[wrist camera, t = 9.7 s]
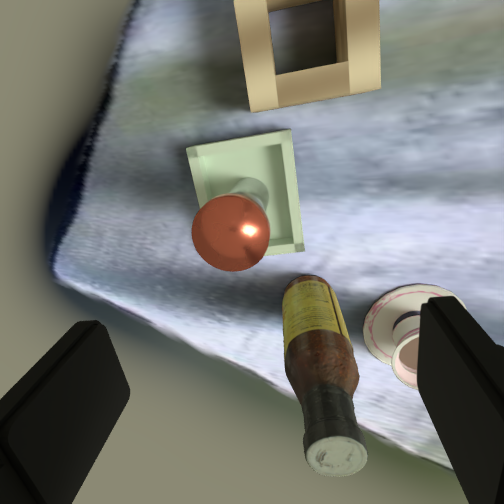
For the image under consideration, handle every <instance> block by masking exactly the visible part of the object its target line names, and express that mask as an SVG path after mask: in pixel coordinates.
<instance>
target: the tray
mask: <svg viewBox="0 0 504 504" xmlns="http://www.w3.org/2000/svg"><path fill="white" fill-rule="evenodd" d="M186 151H187V155H188V160H189V164H190V168H191V172H192V177H193V181H194V185H195V190H196V194H197V198H198V203H199V207H200V209H201V208H202V207H203V206H204V205H205V204H206V203H207V202H208V201H209V200H210V199H212V198H214V197H216V196H218V195H221V194H226V193H229V192H230V190H231V189H232V188H233V187H234V186H235V184H236V183H237V182H238V181H240V180H242V179H244V178H256V179H258V180H260V181H262V182H263V183H264V184H265V185H266V187H267V189H268V191H269V202H268V206H267V210H266V215H267V217H268V220H269V223H270V230H271V232H270V240H269V245H268V248H267V251H266V253H265V255H264V256H269V255H277V254H286V253H295V252H304V251H305V248H304V240H303V231H302V222H301V214H300V205H299V196H298V188H297V179H296V170H295V162H294V153H293V144H292V136H291V129H286V130H281V131H275V132H269V133H263V134H257V135H252V136H246V137H240V138H234V139H229V140H223V141H217V142H211V143H205V144H200V145H194V146H191V147H188V148H186Z"/></svg>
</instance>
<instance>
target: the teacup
mask: <svg viewBox="0 0 504 504" xmlns="http://www.w3.org/2000/svg"><path fill="white" fill-rule="evenodd" d="M441 296H454V297H455V298H457V300H458V301H459V302H460V303H461V304H462V305H463V307H464V308H465V309H466V307H465V305H464V303H463V302H462V301H461V300H460V299H459V298H458V297H457V296H456V295H454V294H453V293H452V292H451V291H448V290H446V289H443V288H441V287H439V286H435V285H425V284H416V285H410V286H404V287H400V288H398V289H396V290H394V291H391V292H389V293H387V294H385V295H384V296H383V297H382V298H380V299H379V300H378V301H377V302H376V303H374V304H373V306H372V307H371V309H370V310H369V312H368V314H367V315H366V317H365V321H364V326H363V335H364V341H365V344H366V345H367V347H368V349H369V350H370V352H371V354H372V355H374V356H375V357H376V358H377V359H379V360H380V361H381V362H383V363H385V364H388V365H391V366H392V369H393V372H394V374H395V375H396V377H397V378H398V379H399V380H400V381H401V382H402V383H404V384H405V385H407V386H409V387H411V388H413V389H416V390H418V386H417V362H418V345H419V327H420V315H417V316H411V317H408V318H406V319H404V320H402V321H401V322H399V323H398V324H397V325H396V327H395V328H394V330H393V327H394V323H395V321H396V320H397V319H398V318H399V317H400V316H401V315H402V314H404V313H407V312H409V311H420V310H421V305H422V303H427V302H428V299H429V298H430V297H441ZM466 310H467V309H466Z"/></svg>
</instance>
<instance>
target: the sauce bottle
mask: <svg viewBox="0 0 504 504" xmlns="http://www.w3.org/2000/svg"><path fill="white" fill-rule="evenodd" d="M282 311H283V336H284V341H283V342H284V362H285V372H286V376H287V378H288V380H289V382H290V384H291V386H292V388H293V390H294V392H295V394H296V396H297V398H298V400H299V402H300V404H301V406H302V411H303V414H304V423H305V424H304V425H305V434H304V437H303V445H304V453H305V458H306V461H307V462H308V464H309V466H310V467H311V468H312V469H313V470H314V471H316V472H317V473H320V474H322V475H326V476H333V477H337V476H347V475H352V474H354V473H356V472H358V471H359V470H360V469H362V467H364V465H365V463H366V462H367V457H368V452H367V448H366V443H365V439H364V435H363V433H362V431H361V430H360V429H359V427H358V425H357V420H356V416H355V413H354V405H353V404H354V403H353V401H352V399H353V394H354V392H355V390H356V388H357V385H358V382H359V377H360V376H359V373H358V367H357V364H356V361H355V358H354V354H353V347H352V344H351V341H350V338H349V335H348V332H347V328H346V325H345V322H344V319H343V316H342V313H341V310H340V307H339V303H338V300H337V297H336V294H335V293H334V291H333V290H332V288H331V286H330V285H329V284H328V283H327V282H326V281H325V280H324V279H322V278H320V277H317V276H310V275H306V276H301V277H298V278H296V279H295V280H293V281H292V282H291V283H289V284H288V286H287V287H286V289H285V292H284V298H283V302H282Z"/></svg>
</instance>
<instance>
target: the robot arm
mask: <svg viewBox="0 0 504 504" xmlns="http://www.w3.org/2000/svg"><path fill="white" fill-rule="evenodd" d="M417 386H418V390H419V393H420V395H421V398H422V400H423V402H424V404H425V407H426V409H427V411H428V413H429V415H430V418H431V420H432V422H433V424H434V427H435V429H436V431H437V433H438V436H439V438H440V440H441V442H442V444H443V447H444V449H445V451H446V453H447V456H448V458H449V460H450V462H451V465H452V467H453V469H454V471H455V473H456V476H457V478H458V480H459V482H460V485H461V487H462V489H463V491H464V494H465V495H466V498H467V500H468V502H469V504H504V347H503V346H501V345H496V344H495V343H494V341H493V340H492V339H491V338H490V337H489V336H488V334H487V333H486V332H485V331H484V330H483V329H482V327H481V326H480V325H479V324H478V323H477V322H476V321H475V319H474V318H473V317H472V316H471V315H470V314H469V312H468V311H467V310H466V309H465V308H464V307H463V305H462V304H461V303H460V302H459V301H458V300H457V298H455V297H454V296H441V297H430V298H429V299H428V302H427V303H422V305H421V310H420V327H419V345H418V362H417ZM129 397H130V388H129V385H128V382H127V380H126V378H125V375H124V372H123V370H122V367H121V365H120V362H119V360H118V357H117V355H116V352H115V349H114V347H113V344H112V342H111V339H110V337H109V334H108V331H107V329H106V327H105V326H104V325H102V324H101V323H100V322H99V321H97V320H91V321H79V322H77V323H75V324H74V325H73V326H72V327H71V328H70V329H69V330H68V332H66V333H65V334H64V335H63V337H61V339H60V340H59V341H58V342H57V343H56V344H55V345H54V346H53V347H52V348H51V349H50V350H49V351H48V352H47V353H46V354H45V355H44V356H43V357H42V358H41V359H40V360H39V361H38V362H37V363H36V364H35V365H34V366H33V367H32V368H31V369H30V370H29V371H28V372H27V373H26V374H25V375H24V376H23V377H22V378H21V379H20V380H19V381H18V382H17V383H16V384H15V385H14V386H13V387H12V388H11V389H10V390H9V391H8V392H7V393H6V394H5V395H4V396H3V397H2V398H1V400H0V504H72V502H73V500H74V499H75V497H76V495H77V493H78V491H79V489H80V488H81V486H82V484H83V482H84V480H85V479H86V477H87V475H88V473H89V471H90V469H91V468H92V466H93V464H94V462H95V460H96V459H97V457H98V455H99V453H100V451H101V449H102V448H103V446H104V444H105V442H106V440H107V438H108V437H109V435H110V433H111V431H112V429H113V428H114V426H115V424H116V422H117V420H118V418H119V417H120V415H121V413H122V411H123V409H124V407H125V406H126V404H127V402H128V400H129Z"/></svg>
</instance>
